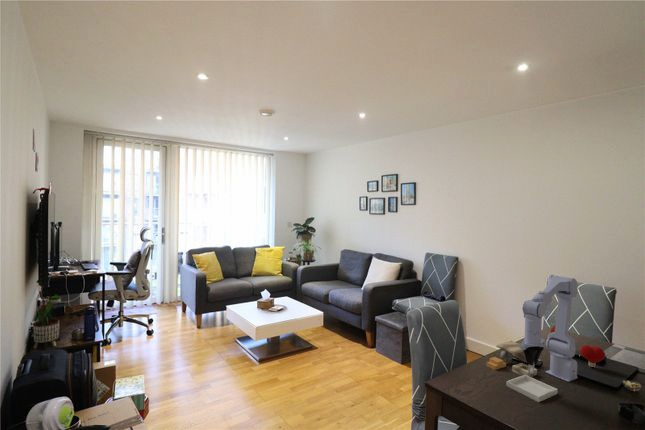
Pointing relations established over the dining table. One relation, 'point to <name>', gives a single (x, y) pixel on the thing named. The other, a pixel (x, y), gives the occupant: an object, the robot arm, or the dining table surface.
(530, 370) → the pin
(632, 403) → the dining table surface
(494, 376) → the dining table surface
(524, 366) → the pin socket
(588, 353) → the red mushroom
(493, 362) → the tan stepped block
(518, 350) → the trolley
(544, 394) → the parts tray
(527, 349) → the robot arm
